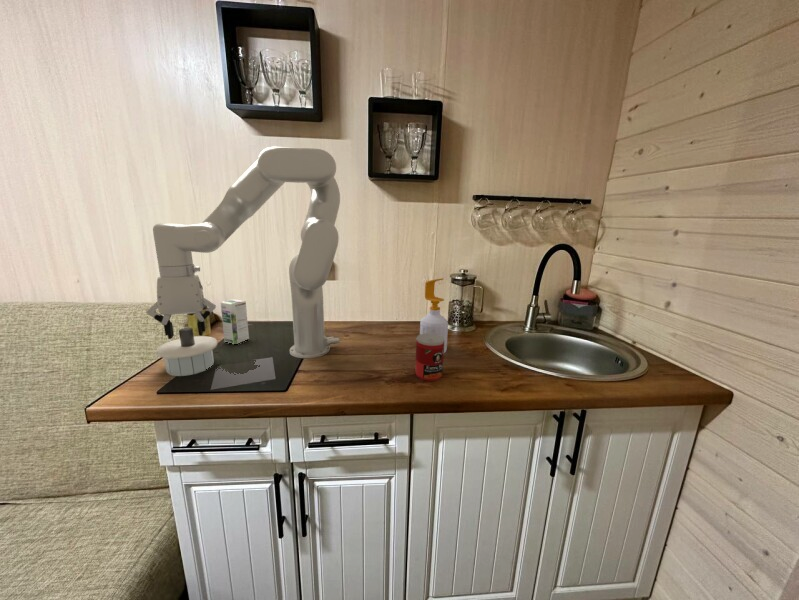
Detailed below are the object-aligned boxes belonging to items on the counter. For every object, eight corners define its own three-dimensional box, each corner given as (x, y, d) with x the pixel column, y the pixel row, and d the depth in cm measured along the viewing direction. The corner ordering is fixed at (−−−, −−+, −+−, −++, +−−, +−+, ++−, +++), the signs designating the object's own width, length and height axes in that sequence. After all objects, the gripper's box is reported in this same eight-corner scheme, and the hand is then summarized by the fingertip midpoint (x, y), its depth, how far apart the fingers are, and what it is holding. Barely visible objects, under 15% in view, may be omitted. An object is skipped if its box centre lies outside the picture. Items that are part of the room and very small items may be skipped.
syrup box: (223, 342, 109) (219, 302, 106) (238, 337, 114) (234, 298, 111) (236, 345, 107) (231, 304, 103) (250, 339, 112) (246, 300, 109)
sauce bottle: (202, 347, 105) (194, 288, 100) (186, 345, 106) (177, 287, 102) (216, 340, 111) (210, 284, 107) (201, 338, 112) (194, 283, 108)
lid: (219, 336, 98) (217, 319, 96) (214, 353, 85) (212, 334, 84) (164, 343, 92) (161, 325, 91) (150, 362, 80) (147, 341, 78)
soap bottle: (433, 358, 100) (437, 281, 94) (413, 349, 107) (416, 277, 101) (452, 351, 106) (456, 278, 100) (432, 343, 113) (435, 274, 107)
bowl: (215, 357, 97) (213, 339, 96) (211, 372, 88) (208, 352, 86) (172, 363, 93) (169, 344, 91) (163, 379, 83) (159, 358, 82)
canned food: (424, 384, 84) (426, 345, 81) (409, 371, 91) (411, 335, 88) (448, 378, 87) (450, 340, 85) (432, 366, 94) (434, 331, 92)
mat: (272, 358, 98) (272, 357, 97) (275, 380, 84) (275, 378, 84) (216, 366, 92) (216, 365, 91) (210, 391, 78) (210, 389, 78)
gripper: (216, 268, 90) (223, 328, 95) (140, 270, 84) (152, 335, 88) (213, 272, 84) (220, 336, 88) (131, 275, 77) (143, 344, 81)
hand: (186, 335), depth 88 cm, fingers open, 6 cm apart
